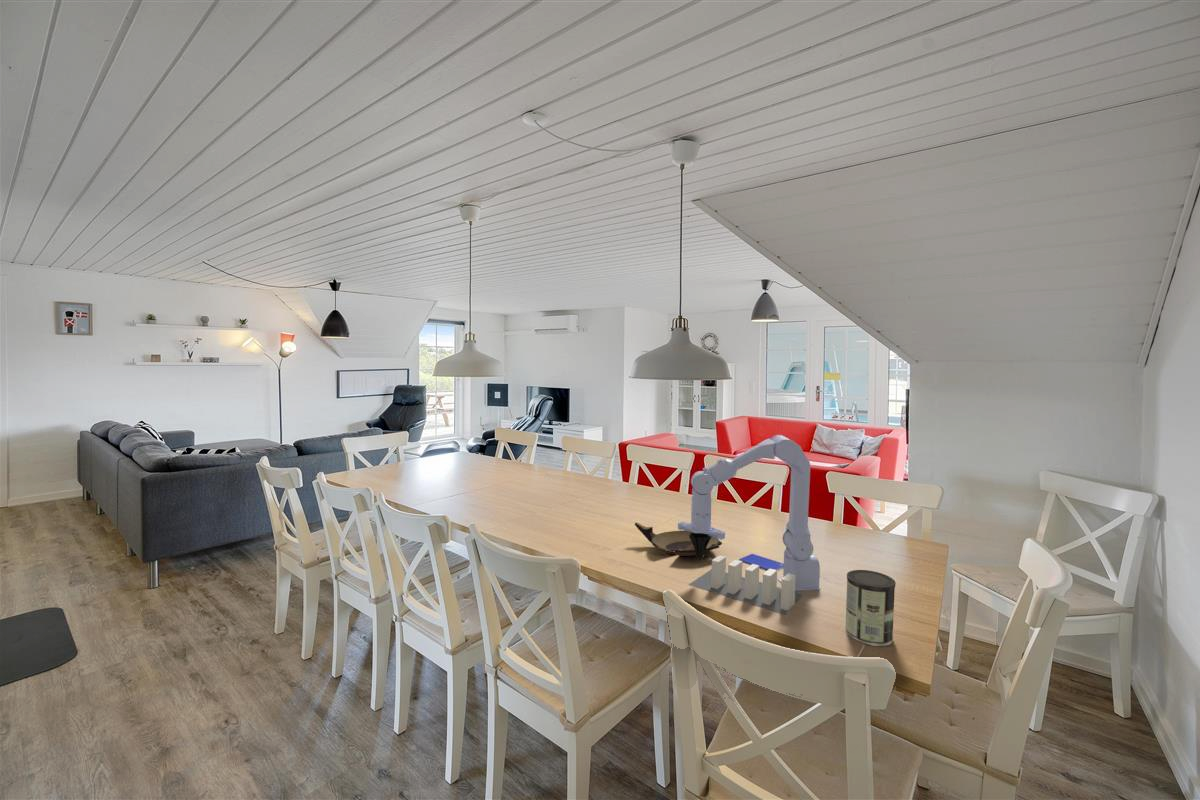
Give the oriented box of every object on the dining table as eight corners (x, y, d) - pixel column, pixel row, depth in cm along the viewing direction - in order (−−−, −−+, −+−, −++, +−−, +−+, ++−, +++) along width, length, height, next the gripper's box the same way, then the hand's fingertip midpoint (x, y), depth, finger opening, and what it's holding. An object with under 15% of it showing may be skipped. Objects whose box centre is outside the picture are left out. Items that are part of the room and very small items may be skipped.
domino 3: (758, 593, 144) (759, 565, 144) (751, 599, 141) (752, 571, 140) (751, 591, 146) (752, 563, 145) (744, 597, 142) (745, 569, 141)
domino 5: (794, 604, 138) (795, 575, 138) (788, 610, 134) (789, 581, 134) (787, 601, 139) (788, 573, 139) (780, 608, 136) (781, 579, 135)
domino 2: (741, 588, 148) (742, 561, 147) (734, 594, 144) (734, 566, 143) (735, 586, 149) (735, 559, 148) (727, 592, 145) (728, 564, 144)
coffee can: (874, 623, 129) (877, 568, 128) (903, 645, 119) (905, 586, 118) (835, 625, 128) (838, 570, 127) (860, 648, 118) (863, 588, 117)
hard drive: (786, 563, 164) (752, 553, 174) (773, 570, 159) (738, 558, 168) (786, 568, 164) (752, 557, 174) (772, 575, 159) (738, 563, 168)
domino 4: (776, 598, 141) (777, 570, 141) (769, 605, 137) (770, 576, 137) (769, 596, 143) (769, 568, 142) (762, 602, 139) (762, 574, 138)
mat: (803, 595, 144) (803, 594, 144) (784, 616, 132) (784, 614, 132) (712, 569, 162) (712, 568, 162) (688, 585, 150) (688, 584, 150)
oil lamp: (692, 572, 160) (692, 548, 160) (625, 546, 183) (625, 524, 182) (734, 554, 175) (734, 532, 174) (667, 532, 197) (668, 513, 197)
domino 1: (725, 583, 151) (725, 556, 150) (717, 589, 147) (718, 562, 146) (719, 581, 152) (719, 555, 151) (711, 587, 148) (711, 560, 148)
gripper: (672, 511, 153) (672, 555, 154) (717, 520, 144) (716, 568, 145) (684, 506, 159) (683, 549, 160) (728, 515, 150) (727, 560, 151)
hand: (700, 557), depth 153 cm, fingers closed
